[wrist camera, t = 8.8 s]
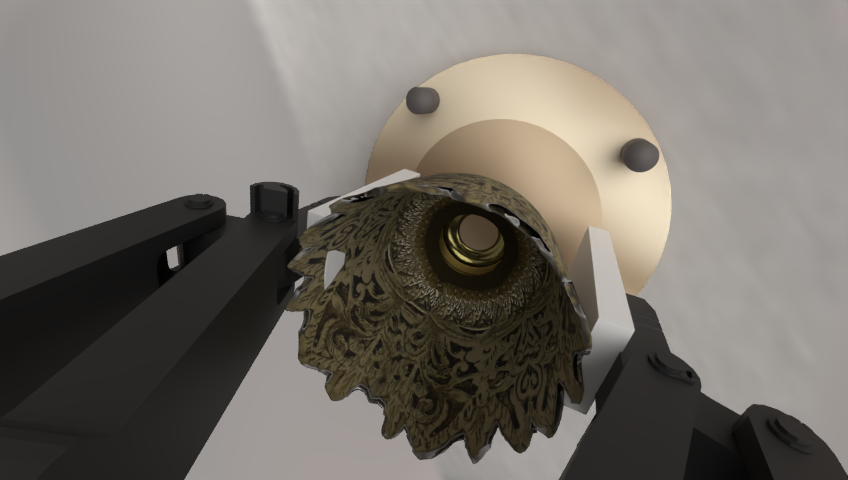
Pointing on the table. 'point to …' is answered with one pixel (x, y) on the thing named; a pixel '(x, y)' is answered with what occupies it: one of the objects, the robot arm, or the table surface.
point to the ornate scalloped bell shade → (443, 313)
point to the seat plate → (539, 152)
